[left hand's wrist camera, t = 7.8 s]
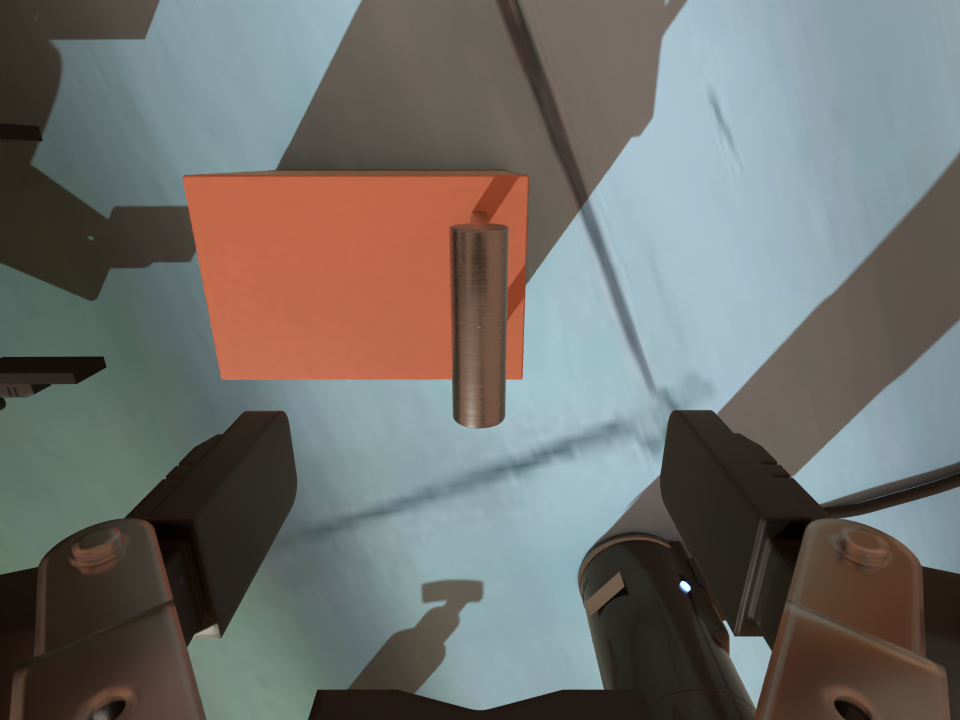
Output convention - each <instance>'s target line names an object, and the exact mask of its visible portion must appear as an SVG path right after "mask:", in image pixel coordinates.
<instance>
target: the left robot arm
mask: <svg viewBox="0 0 960 720" xmlns="http://www.w3.org/2000/svg"><path fill="white" fill-rule="evenodd" d="M959 486H960V473H958V474H955V475H953V476H950V477H947V478H944V479H941V480H938V481H935V482H932V483H928V484H925V485H922V486H919V487H915V488H912V489H908V490H905V491H901V492H897V493H894V494H890V495H887V496H883V497H880V498H876V499H872V500H869V501H865V502H862V503H858V504H853V505H848V506H842V507H835V508H826V509H823V508H822V507H821V506H820V505H819V504H818V503H817V502H816V501H815V500H814V499H813V498H812V497H811V496H810V495H809V494H808V493H807V492H806V491H805V490H804V489H803V488H802V487H801V486H800V485H799V484H798V483H797V482H796V481H795V480H794V479H793V478H790V474H789V473H788V472H787V471H786V470H785V469H784V468H783V467H782V466H781V465H777V461H776V460H775V459H774V458H773V457H772V456H771V455H770V454H769V453H768V452H767V451H766V450H765V449H764V448H763V447H762V446H760V445H759V444H757V443H755V442H753V441H751V440H750V439H748V438H746V437H744V436H743V435H741V434H739V433H733V432H732V431H731V430H730V429H729V428H728V427H727V426H726V425H725V423H724V422H723V421H722V420H721V419H720V418H719V417H718V416H717V415H716V414H715V413H714V412H713V411H711V410H674V411H673V412H672V413H671V414H670V417H669V420H668V426H667V433H666V440H665V447H664V454H663V461H662V468H661V475H660V487H661V494H662V499H663V502H664V505H665V507H666V509H667V510H668V512H669V514H670V516H671V518H672V520H673V522H674V524H675V525H676V527H677V529H678V531H679V533H680V535H681V537H682V539H683V540H684V542H685V544H686V546H687V548H688V550H689V552H690V554H691V555H692V557H693V558H689V557H688V555H687V553H686V551H685V549H684V547H683V545H682V543H681V542H667V541H665V540H663V539H661V538H659V537H656V536H653V535H649V534H640V533H632V534H624V535H620V536H616V537H613V538H610V539H608V540H606V541H604V542H602V543H601V544H599V545H598V546H596V547H595V548H594V549H593V550H592V551H590V552H589V554H588V555H587V556H586V557H585V559H584V560H583V562H582V564H581V566H580V569H579V573H578V585H579V590H580V594H581V597H582V600H583V604H584V608H585V610H586V615H587V619H588V624H589V628H590V632H591V636H592V641H593V645H594V649H595V654H596V658H597V662H598V666H599V671H600V675H601V679H602V684H603V688H604V690H560V691H556V692H552V693H549V694H545V695H541V696H537V697H533V698H530V699H526V700H522V701H518V702H515V703H511V704H507V705H503V706H499V707H496V708H492V709H488V710H472V709H468V708H464V707H461V706H457V705H453V704H449V703H445V702H442V701H438V700H434V699H430V698H427V697H423V696H419V695H415V694H411V693H408V692H404V691H400V690H317V693H316V696H315V699H314V702H313V706H312V709H311V712H310V715H309V719H308V720H960V574H957V573H952V572H947V571H943V570H938V569H933V568H928V567H923V566H921V564H920V562H919V560H918V559H917V557H916V556H915V555H914V554H913V553H912V552H911V551H910V550H909V549H908V548H907V547H906V546H905V545H903V544H902V543H901V542H899V541H898V540H896V539H895V538H893V537H891V536H890V535H888V534H886V533H884V532H882V531H880V530H877V529H875V528H873V527H870V526H867V525H865V524H862V523H858V522H855V521H850V520H845V519H838V518H846V517H852V516H858V515H862V514H866V513H870V512H874V511H878V510H881V509H885V508H888V507H892V506H896V505H899V504H903V503H906V502H910V501H914V500H917V499H921V498H924V497H928V496H931V495H934V494H938V493H941V492H944V491H947V490H950V489H953V488H956V487H959ZM296 490H297V474H296V467H295V460H294V453H293V447H292V440H291V433H290V426H289V421H288V417H287V415H286V413H285V412H283V411H245V412H243V413H242V414H241V415H240V416H239V417H238V419H237V420H236V421H235V422H234V423H233V424H232V425H231V426H230V427H229V428H228V429H227V430H226V431H225V432H224V434H217V435H216V436H214V437H212V438H210V439H209V440H207V441H205V442H203V443H201V444H200V445H198V446H196V447H194V448H193V449H192V450H191V451H190V452H189V453H188V454H187V455H186V456H185V457H184V459H183V460H182V461H181V462H180V463H179V466H176V467H175V468H174V469H173V470H172V471H171V472H170V473H169V474H168V475H167V476H166V479H163V480H162V481H161V482H160V483H159V484H158V485H157V486H156V487H155V488H154V489H153V490H152V491H151V492H150V493H149V494H148V495H147V496H146V497H145V498H144V499H143V500H142V501H141V502H140V503H139V504H138V505H137V506H136V507H135V508H134V509H133V510H132V511H131V512H130V513H129V514H128V515H127V516H126V517H125V518H123V519H115V520H110V521H105V522H102V523H98V524H95V525H93V526H90V527H87V528H85V529H83V530H80V531H78V532H76V533H74V534H72V535H70V536H69V537H67V538H65V539H64V540H62V541H61V542H59V543H58V544H57V545H55V546H54V547H53V548H52V549H51V550H50V551H49V552H48V553H47V554H46V555H45V556H44V557H43V559H42V560H41V562H40V564H39V567H36V568H31V569H26V570H21V571H17V572H12V573H7V574H2V575H0V720H206V716H205V712H204V709H203V705H202V701H201V698H200V694H199V690H198V687H197V683H196V679H195V676H194V672H193V668H192V664H191V661H190V657H189V653H188V650H187V647H188V645H189V643H190V642H191V640H192V638H222V636H223V634H224V632H225V630H226V628H227V626H228V625H229V623H230V621H231V619H232V617H233V615H234V614H235V612H236V610H237V608H238V606H239V604H240V602H241V601H242V599H243V597H244V595H245V593H246V591H247V589H248V588H249V586H250V584H251V582H252V580H253V578H254V577H255V575H256V573H257V571H258V569H259V567H260V565H261V564H262V562H263V560H264V558H265V556H266V554H267V552H268V551H269V549H270V547H271V545H272V543H273V541H274V540H275V538H276V536H277V534H278V532H279V530H280V528H281V527H282V525H283V523H284V521H285V519H286V517H287V515H288V514H289V512H290V510H291V508H292V506H293V504H294V500H295V496H296ZM724 620H726V621H727V623H728V625H729V627H730V628H731V630H732V632H733V634H734V636H763V637H764V639H765V640H766V642H767V644H768V646H769V647H770V649H771V651H772V653H771V657H770V661H769V664H768V668H767V672H766V675H765V679H764V683H763V687H762V690H761V694H760V698H759V701H758V705H757V709H756V708H755V706H754V704H753V702H752V700H751V698H750V696H749V694H748V692H747V690H746V688H745V686H744V684H743V682H742V680H741V678H740V676H739V674H738V672H737V670H736V668H735V666H734V664H733V662H732V660H731V658H730V657H729V634H728V631H727V629H726V627H725V625H724V623H723V621H724Z"/></svg>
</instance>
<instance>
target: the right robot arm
mask: <svg viewBox="0 0 960 720" xmlns="http://www.w3.org/2000/svg"><path fill="white" fill-rule="evenodd" d="M0 141H42V137H41V134H40V130H39V126H28V125H14V124H1V123H0ZM104 368H106V364H105V360H104V357H2V358H0V410H2V409H4V408H5V406H6V402H5V400H4V398H3V397H29V396H31V395H34V394H36V393H37V392H39V391H41V390H43V389H45V388H47V387H49V386H51V384H77V383H79V382H81V381H83V380H85V379H86V378H88V377H90V376H92V375H94V374H95V373H97V372H99V371H101V370H103V369H104Z"/></svg>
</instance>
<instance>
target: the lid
mask: <svg viewBox="0 0 960 720" xmlns="http://www.w3.org/2000/svg"><path fill="white" fill-rule="evenodd" d="M183 182H184V187H185V192H186V197H187V203H188V208H189V213H190V218H191V223H192V229H193V234H194V239H195V244H196V249H197V255H198V260H199V265H200V270H201V275H202V280H203V286H204V291H205V296H206V301H207V306H208V312H209V317H210V322H211V327H212V332H213V337H214V343H215V348H216V353H217V358H218V363H219V369H220V374H221V379H223V380H339V379H452V392H453V418H454V420H455V421H456V422H457V423H458V424H460V425H463V426H466V427H470V428H488V427H492V426H495V425H498V424H500V423H501V422H502V421H503V420H504V418H505V394H506V379H522V377H523V346H524V314H525V283H526V251H527V220H528V188H529V177H528V176H527V175H184V176H183Z"/></svg>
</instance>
